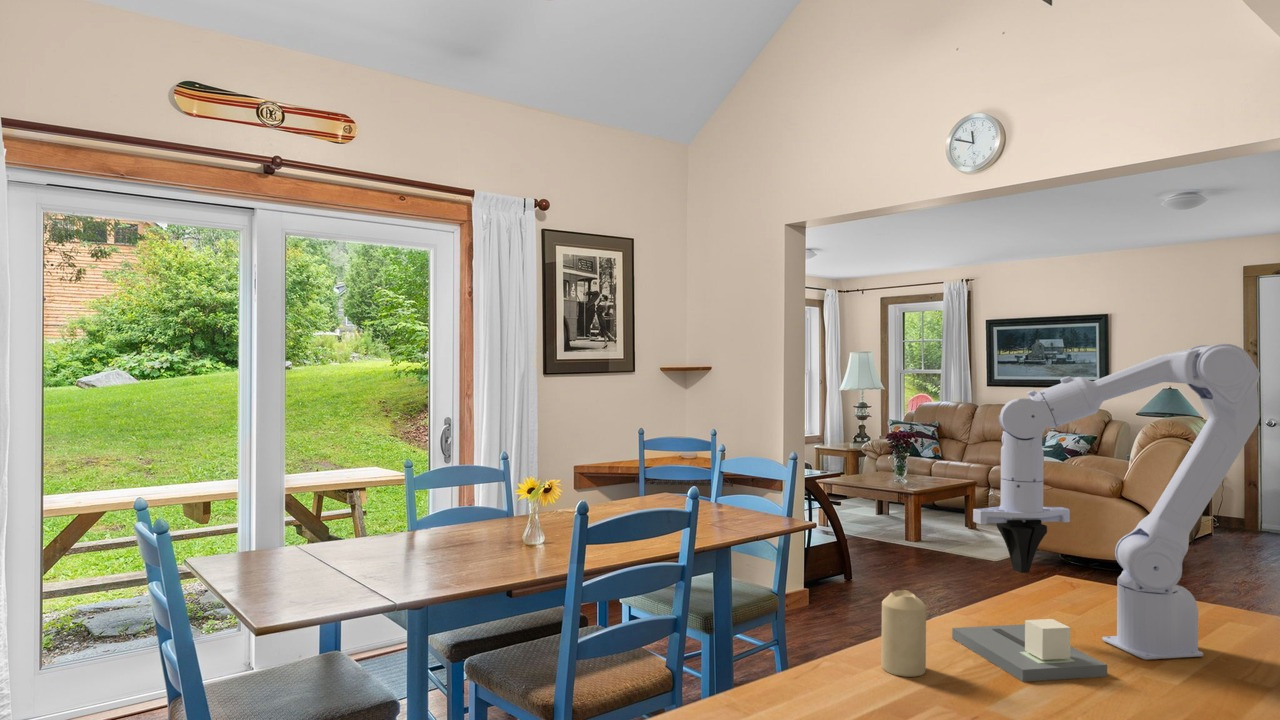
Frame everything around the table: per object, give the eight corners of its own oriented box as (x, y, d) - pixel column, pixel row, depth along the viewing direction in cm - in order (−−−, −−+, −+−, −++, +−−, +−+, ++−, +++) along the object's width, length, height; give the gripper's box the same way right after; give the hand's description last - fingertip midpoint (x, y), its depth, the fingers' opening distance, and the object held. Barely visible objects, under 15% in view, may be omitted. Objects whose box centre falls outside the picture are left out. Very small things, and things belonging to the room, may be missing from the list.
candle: (928, 679, 101) (929, 600, 101) (883, 675, 102) (884, 597, 102) (922, 663, 106) (922, 588, 106) (879, 659, 107) (880, 585, 107)
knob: (1051, 648, 107) (1052, 618, 107) (1070, 658, 103) (1070, 627, 103) (1024, 650, 106) (1025, 620, 106) (1042, 659, 102) (1042, 628, 102)
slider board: (1026, 634, 118) (1026, 623, 118) (1107, 676, 102) (1107, 663, 102) (952, 638, 116) (952, 627, 116) (1022, 681, 100) (1022, 668, 100)
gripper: (1047, 475, 123) (1046, 562, 123) (961, 476, 121) (960, 565, 120) (1080, 481, 116) (1079, 574, 116) (989, 483, 114) (988, 578, 114)
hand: (1021, 571), depth 118 cm, fingers closed
